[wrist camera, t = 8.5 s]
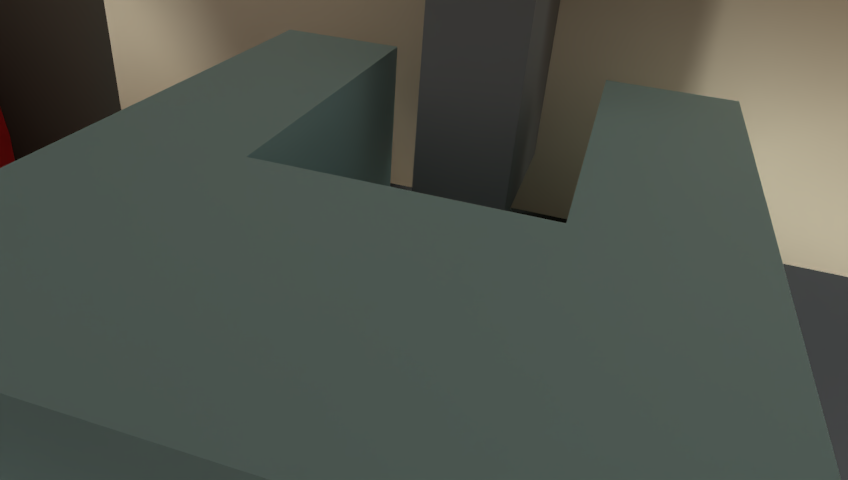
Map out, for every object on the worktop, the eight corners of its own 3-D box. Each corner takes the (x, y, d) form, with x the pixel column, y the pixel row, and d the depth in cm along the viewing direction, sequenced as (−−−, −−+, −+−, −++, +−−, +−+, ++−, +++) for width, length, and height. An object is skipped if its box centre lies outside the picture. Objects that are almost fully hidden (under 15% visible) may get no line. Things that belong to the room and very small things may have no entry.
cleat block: (614, 487, 12) (562, 1091, 6) (300, 396, 13) (11, 822, 7) (739, 101, 8) (898, 682, 3) (290, 29, 10) (-283, 302, 4)
